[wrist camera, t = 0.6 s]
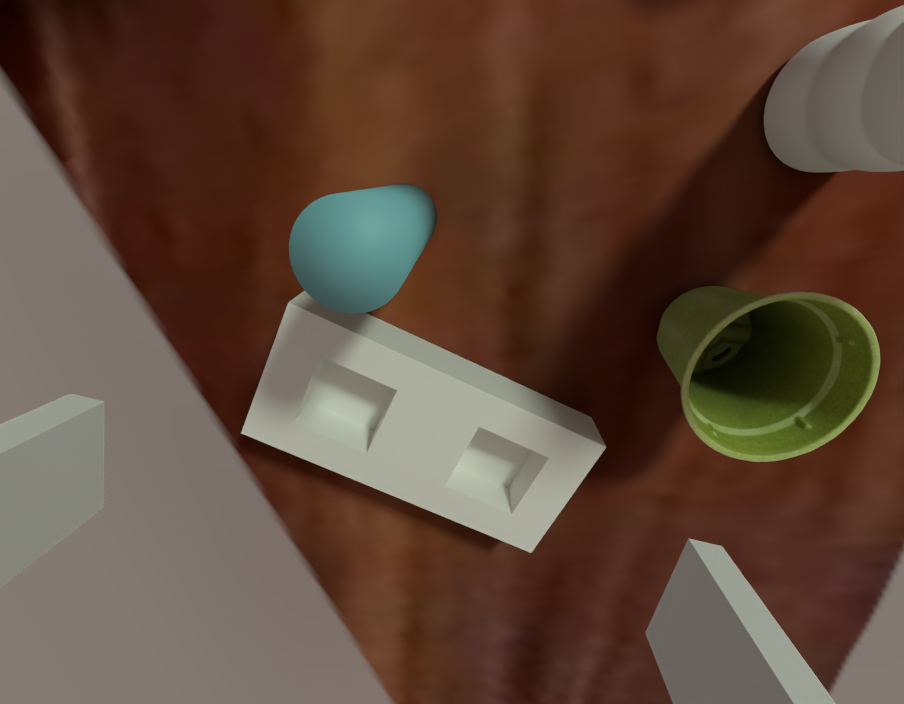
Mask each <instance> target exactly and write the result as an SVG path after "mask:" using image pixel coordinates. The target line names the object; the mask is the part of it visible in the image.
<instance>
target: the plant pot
mask: <svg viewBox="0 0 904 704" xmlns="http://www.w3.org/2000/svg"><path fill="white" fill-rule="evenodd" d="M657 344H658V348H659V350H660V353H661V354H662V356H663V358H664V359H665V361H666V363H667V364H668V366H669V368H670V369H671V371H672V372H673V374H674V376H675V378H676V379H677V381H678V383H679V385H680V386H681V403H682V408H683V412H684V414H685V417H686V419H687V421H688V423H689V425H690V427H691V428H692V429H693V431H694V432H695V433H696V435H697V436H698V437H699V438H700V439H701V440H702V441H703V442H704V443H705V444H707V445H708V446H709V447H711V448H712V449H714V450H716V451H718V452H720V453H722V454H724V455H726V456H729V457H732V458H736V459H741V460H747V461H753V462H768V461H777V460H783V459H788V458H791V457H795V456H798V455H802V454H804V453H807V452H810V451H812V450H814V449H816V448H818V447H820V446H821V445H823V444H825V443H827V442H828V441H830V440H832V439H833V438H834V437H836V436H837V435H838V434H840V433H841V432H842V431H843V430H844V429H845V428H846V427H847V426H848V425H849V424H850V423H851V422H852V421H853V420H854V419H855V418H856V417H857V415H858V414H859V413H860V412H861V411H862V409H863V408H864V406H865V404H866V403H867V401H868V399H869V398H870V396H871V394H872V392H873V389H874V387H875V385H876V381H877V378H878V373H879V367H880V350H879V345H878V341H877V337H876V335H875V332H874V330H873V328H872V327H871V325H870V324H869V322H868V321H867V320H866V319H865V317H864V316H863V315H862V314H861V313H860V312H859V311H858V310H856V309H855V308H854V307H852V306H850V305H849V304H847V303H845V302H843V301H841V300H839V299H837V298H834V297H831V296H828V295H824V294H818V293H813V292H799V291H797V292H784V293H778V294H773V295H769V296H767V295H762V294H756V293H751V292H746V291H741V290H736V289H731V288H726V287H721V286H703V287H699V288H695V289H692V290H690V291H688V292H686V293H684V294H682V295H680V296H679V297H678V298H676V299H675V300H674V301H673V302H672V303H671V304H670V305H669V306H668V307H667V308H666V310H665V311H664V313H663V315H662V317H661V321H660V325H659V329H658V333H657ZM729 347H730V351H729V352H728V353H727V354H726V355H724V356H723V357H722V358H720V359H718V360H713V359H712V358H713V357H715V356H716V355H718V354H721V353H723V352H724V351H725V350H726V349H728V348H729Z"/></svg>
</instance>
